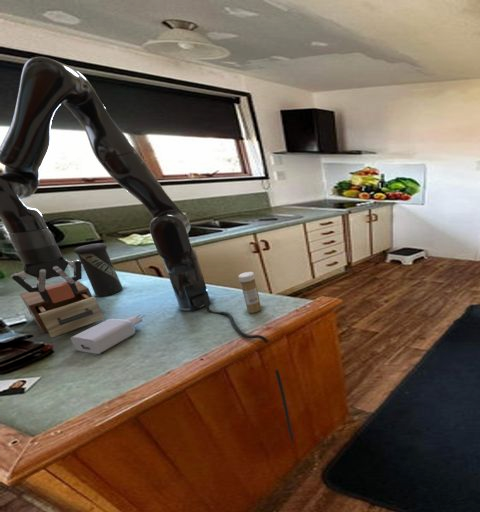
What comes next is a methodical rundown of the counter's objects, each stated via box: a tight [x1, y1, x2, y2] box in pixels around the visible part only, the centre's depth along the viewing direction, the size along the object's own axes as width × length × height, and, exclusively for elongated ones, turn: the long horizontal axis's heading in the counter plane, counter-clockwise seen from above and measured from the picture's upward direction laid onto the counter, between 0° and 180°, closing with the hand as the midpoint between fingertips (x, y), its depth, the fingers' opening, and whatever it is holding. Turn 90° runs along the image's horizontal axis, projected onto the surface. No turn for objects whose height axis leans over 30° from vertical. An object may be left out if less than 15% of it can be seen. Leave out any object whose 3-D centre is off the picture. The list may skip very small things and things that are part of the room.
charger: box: [70, 314, 146, 355], centre depth 80 cm, size 5×9×15 cm
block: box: [45, 280, 75, 303], centre depth 83 cm, size 4×4×4 cm
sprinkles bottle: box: [238, 271, 262, 314], centre depth 90 cm, size 5×5×14 cm
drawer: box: [36, 293, 105, 338], centre depth 85 cm, size 19×12×8 cm, turn 59°
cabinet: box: [19, 280, 93, 334], centre depth 91 cm, size 16×13×10 cm
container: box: [73, 242, 124, 297], centre depth 106 cm, size 9×9×20 cm
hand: (62, 297), depth 83 cm, fingers closed on block, 4 cm apart
